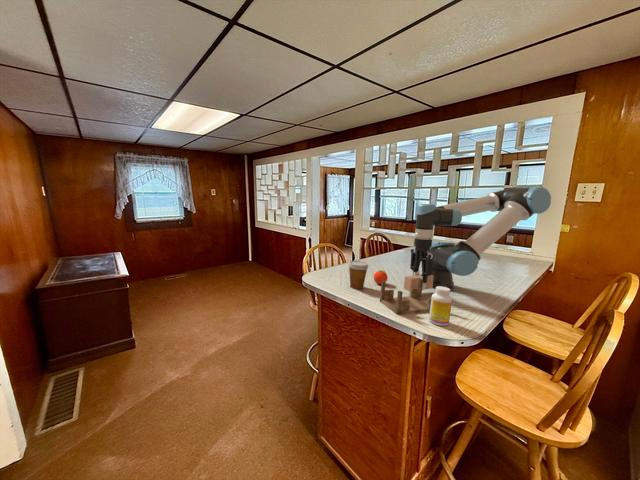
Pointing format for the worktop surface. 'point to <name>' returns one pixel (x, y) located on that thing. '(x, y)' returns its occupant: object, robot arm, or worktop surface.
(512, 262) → the worktop surface
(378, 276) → the clementine
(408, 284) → the pinkish tan block
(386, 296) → the rack
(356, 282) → the disposable coffee cup
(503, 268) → the worktop surface
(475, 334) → the worktop surface
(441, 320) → the supplement bottle
